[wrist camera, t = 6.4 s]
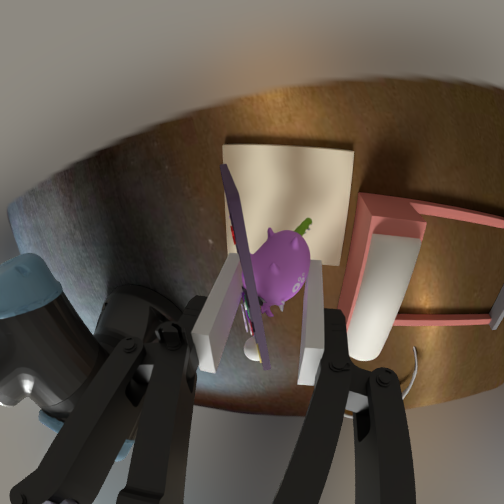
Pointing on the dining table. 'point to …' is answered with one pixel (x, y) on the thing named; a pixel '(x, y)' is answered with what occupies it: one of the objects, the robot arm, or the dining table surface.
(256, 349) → the purple toy
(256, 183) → the plate
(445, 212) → the frame
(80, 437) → the robot arm
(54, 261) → the dining table surface
